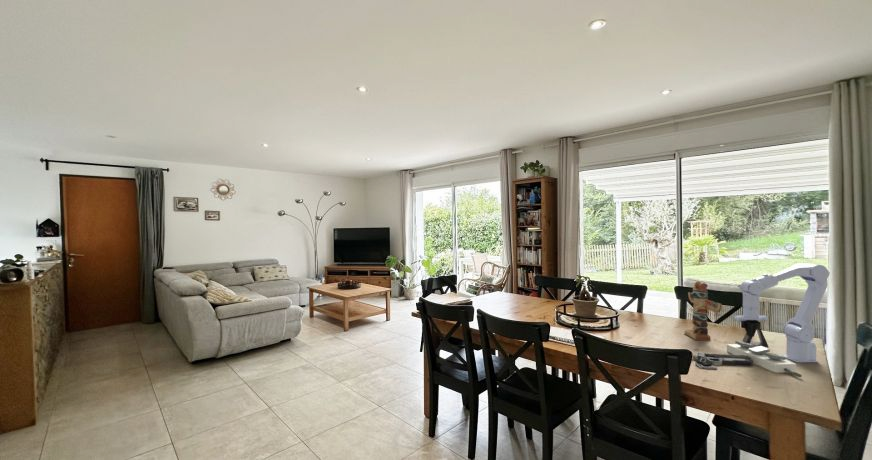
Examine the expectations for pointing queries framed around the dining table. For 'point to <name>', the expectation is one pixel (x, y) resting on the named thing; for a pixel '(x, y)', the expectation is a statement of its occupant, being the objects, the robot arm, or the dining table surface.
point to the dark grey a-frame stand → (762, 339)
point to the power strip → (764, 360)
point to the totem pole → (701, 311)
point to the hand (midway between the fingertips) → (750, 336)
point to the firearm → (720, 360)
